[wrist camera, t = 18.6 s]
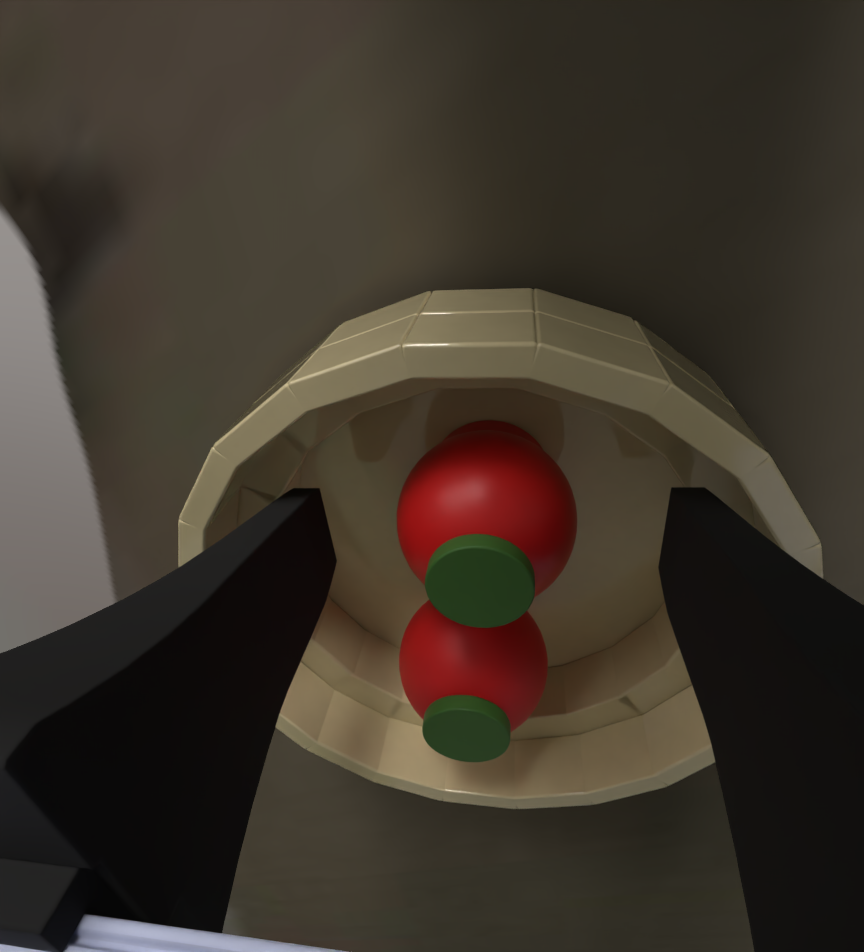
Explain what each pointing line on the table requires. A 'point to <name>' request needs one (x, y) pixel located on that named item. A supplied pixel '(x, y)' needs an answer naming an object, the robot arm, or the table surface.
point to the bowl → (572, 593)
